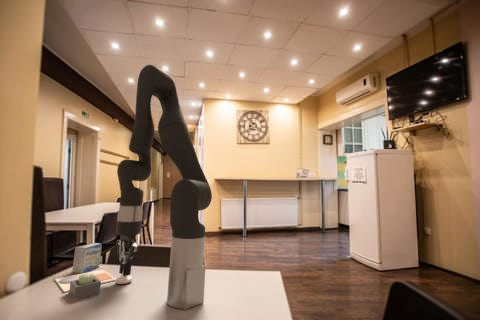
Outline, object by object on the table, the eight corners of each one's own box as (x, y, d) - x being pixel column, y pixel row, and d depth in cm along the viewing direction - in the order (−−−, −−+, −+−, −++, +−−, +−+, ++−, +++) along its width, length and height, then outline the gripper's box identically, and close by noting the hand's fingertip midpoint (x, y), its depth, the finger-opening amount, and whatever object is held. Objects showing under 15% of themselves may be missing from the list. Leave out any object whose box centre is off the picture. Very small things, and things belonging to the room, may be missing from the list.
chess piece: (112, 281, 74) (115, 248, 75) (126, 277, 78) (128, 246, 79) (122, 285, 71) (125, 251, 73) (135, 280, 76) (138, 248, 77)
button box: (99, 293, 66) (100, 281, 66) (74, 300, 62) (76, 287, 62) (93, 287, 70) (94, 276, 70) (69, 292, 66) (70, 281, 66)
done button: (94, 284, 66) (95, 275, 67) (79, 288, 64) (80, 279, 64) (90, 281, 69) (91, 272, 69) (76, 284, 66) (77, 275, 66)
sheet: (116, 280, 76) (116, 278, 76) (63, 292, 66) (64, 290, 66) (102, 270, 84) (103, 269, 85) (54, 280, 74) (54, 278, 74)
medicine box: (82, 273, 81) (85, 248, 82) (71, 272, 81) (74, 247, 83) (99, 266, 88) (102, 243, 90) (89, 265, 89) (92, 242, 90)
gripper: (150, 220, 75) (145, 277, 73) (132, 216, 85) (127, 266, 82) (126, 222, 70) (120, 283, 67) (110, 218, 79) (104, 271, 77)
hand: (124, 273), depth 75 cm, fingers closed on chess piece
